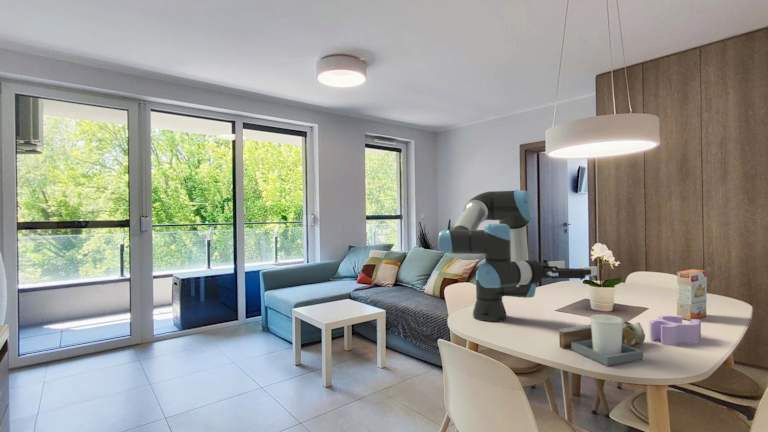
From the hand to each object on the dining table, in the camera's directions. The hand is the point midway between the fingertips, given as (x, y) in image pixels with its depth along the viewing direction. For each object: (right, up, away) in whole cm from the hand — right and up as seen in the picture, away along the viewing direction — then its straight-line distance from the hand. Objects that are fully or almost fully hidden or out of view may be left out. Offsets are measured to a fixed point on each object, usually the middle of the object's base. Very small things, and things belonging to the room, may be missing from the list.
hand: (579, 267), depth 127 cm
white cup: (+12, -30, +5) cm, 33 cm away
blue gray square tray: (+11, -30, +4) cm, 33 cm away
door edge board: (+8, -30, +14) cm, 34 cm away
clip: (+45, -30, +18) cm, 57 cm away
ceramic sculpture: (+24, -30, +13) cm, 41 cm away
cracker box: (+74, -29, +45) cm, 91 cm away
